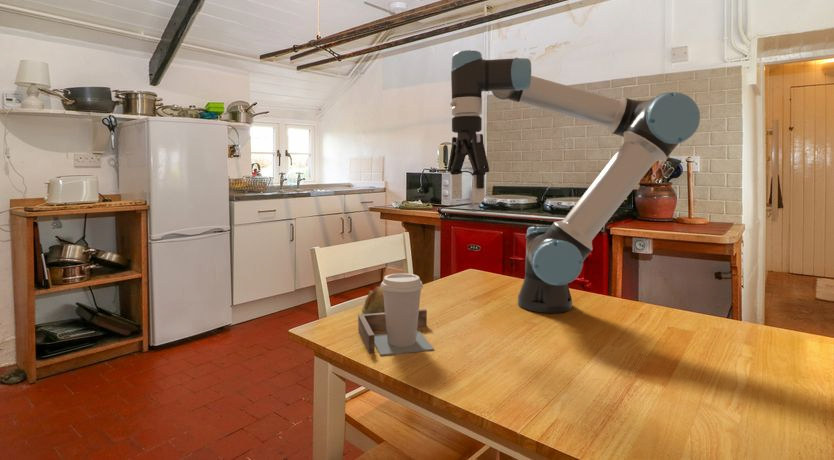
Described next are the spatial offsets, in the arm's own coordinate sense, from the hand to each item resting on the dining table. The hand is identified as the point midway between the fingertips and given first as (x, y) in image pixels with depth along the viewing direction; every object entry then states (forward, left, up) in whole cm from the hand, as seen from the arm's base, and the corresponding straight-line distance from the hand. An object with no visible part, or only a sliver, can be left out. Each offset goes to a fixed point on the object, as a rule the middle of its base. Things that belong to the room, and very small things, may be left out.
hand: (467, 200), depth 123 cm
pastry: (+20, -7, -32) cm, 38 cm away
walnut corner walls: (+21, +10, -31) cm, 39 cm away
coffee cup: (+21, +14, -31) cm, 40 cm away
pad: (+21, +14, -31) cm, 40 cm away
